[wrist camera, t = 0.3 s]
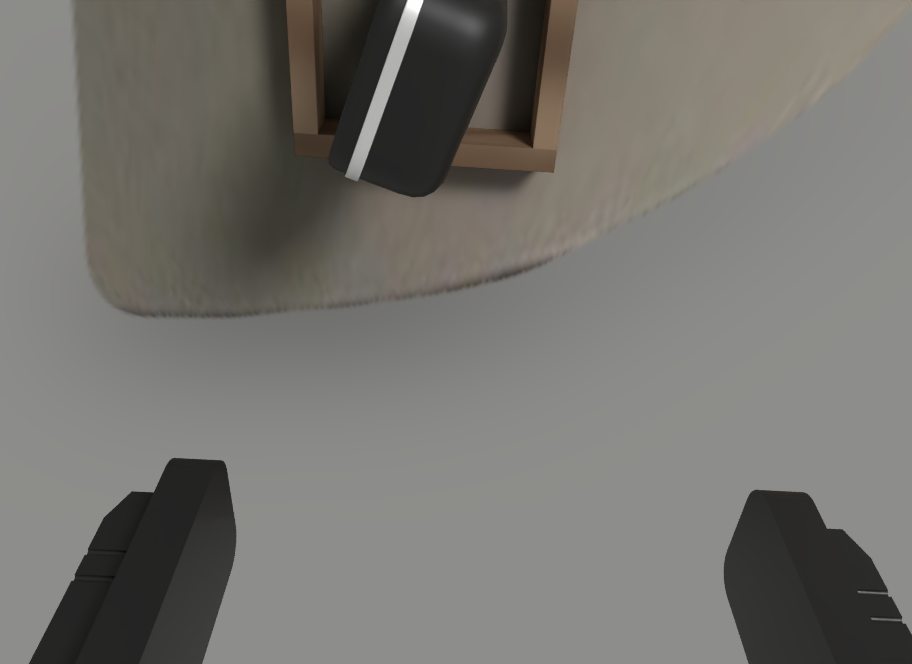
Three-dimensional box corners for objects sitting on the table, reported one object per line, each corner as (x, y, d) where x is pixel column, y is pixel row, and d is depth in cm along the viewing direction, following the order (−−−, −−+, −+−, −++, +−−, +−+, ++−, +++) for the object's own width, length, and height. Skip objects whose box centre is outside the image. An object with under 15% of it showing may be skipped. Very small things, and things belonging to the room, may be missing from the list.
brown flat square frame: (288, -153, 28) (277, -151, 26) (588, -131, 28) (596, -127, 27) (303, 138, 34) (295, 155, 33) (549, 155, 34) (553, 172, 33)
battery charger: (444, 112, 33) (433, 232, 24) (360, 78, 33) (316, 189, 23) (511, -52, 30) (530, 13, 20) (419, -94, 29) (395, -47, 20)
